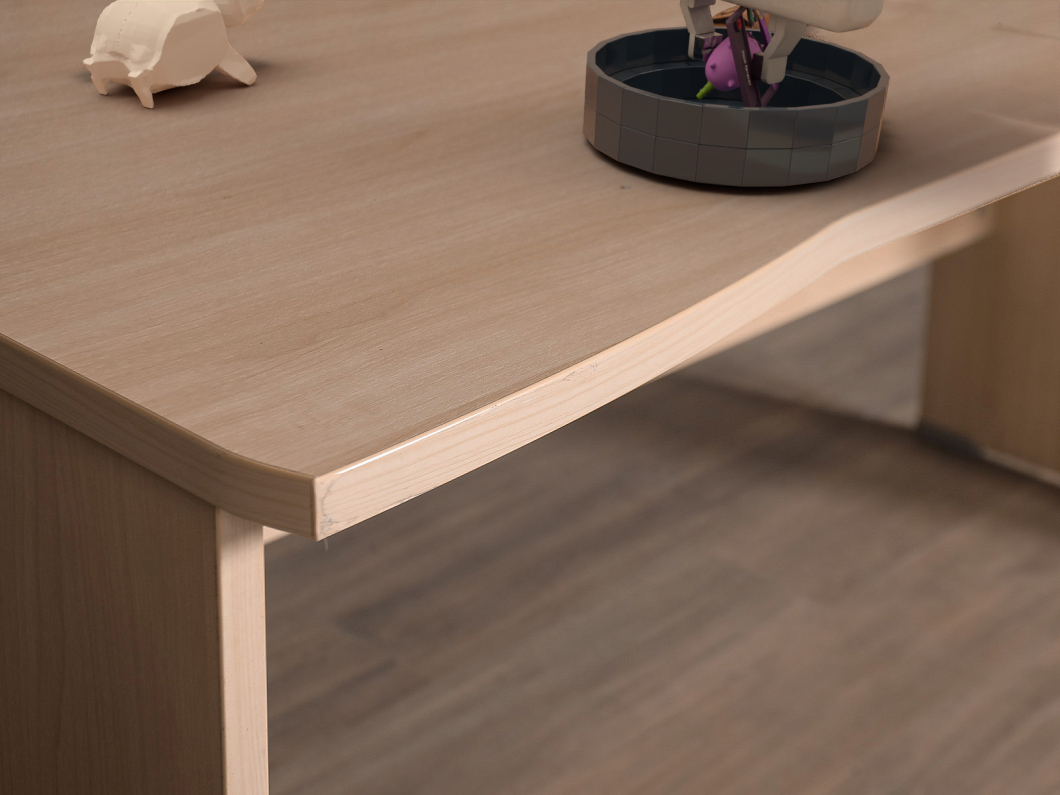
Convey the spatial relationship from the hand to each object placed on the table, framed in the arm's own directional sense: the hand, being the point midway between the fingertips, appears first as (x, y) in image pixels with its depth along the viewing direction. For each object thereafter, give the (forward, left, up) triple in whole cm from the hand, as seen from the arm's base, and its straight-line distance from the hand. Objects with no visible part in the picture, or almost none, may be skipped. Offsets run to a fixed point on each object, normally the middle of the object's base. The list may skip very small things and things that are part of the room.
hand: (734, 70), depth 83 cm
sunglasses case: (+16, -18, -5) cm, 25 cm away
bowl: (0, 0, -5) cm, 5 cm away
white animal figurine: (+33, +25, -5) cm, 42 cm away
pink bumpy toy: (0, 0, -2) cm, 2 cm away
